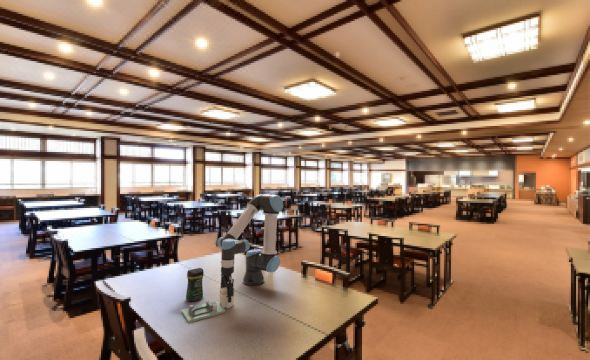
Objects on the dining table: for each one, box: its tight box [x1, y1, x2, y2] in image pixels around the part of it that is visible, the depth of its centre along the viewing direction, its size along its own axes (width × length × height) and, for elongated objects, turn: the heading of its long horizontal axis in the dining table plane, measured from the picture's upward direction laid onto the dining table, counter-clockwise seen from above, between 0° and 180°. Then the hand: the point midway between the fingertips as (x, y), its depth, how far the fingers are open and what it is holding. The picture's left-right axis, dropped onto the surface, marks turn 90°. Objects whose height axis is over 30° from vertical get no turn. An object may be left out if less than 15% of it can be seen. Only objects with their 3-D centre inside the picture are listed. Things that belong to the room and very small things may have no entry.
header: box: [188, 300, 213, 317], centre depth 150 cm, size 11×7×4 cm, turn 127°
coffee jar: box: [185, 267, 205, 302], centre depth 169 cm, size 10×8×19 cm
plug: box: [219, 287, 235, 309], centre depth 162 cm, size 7×5×10 cm, turn 127°
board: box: [181, 300, 227, 324], centre depth 152 cm, size 20×14×4 cm
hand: (226, 304), depth 161 cm, fingers open, 6 cm apart
